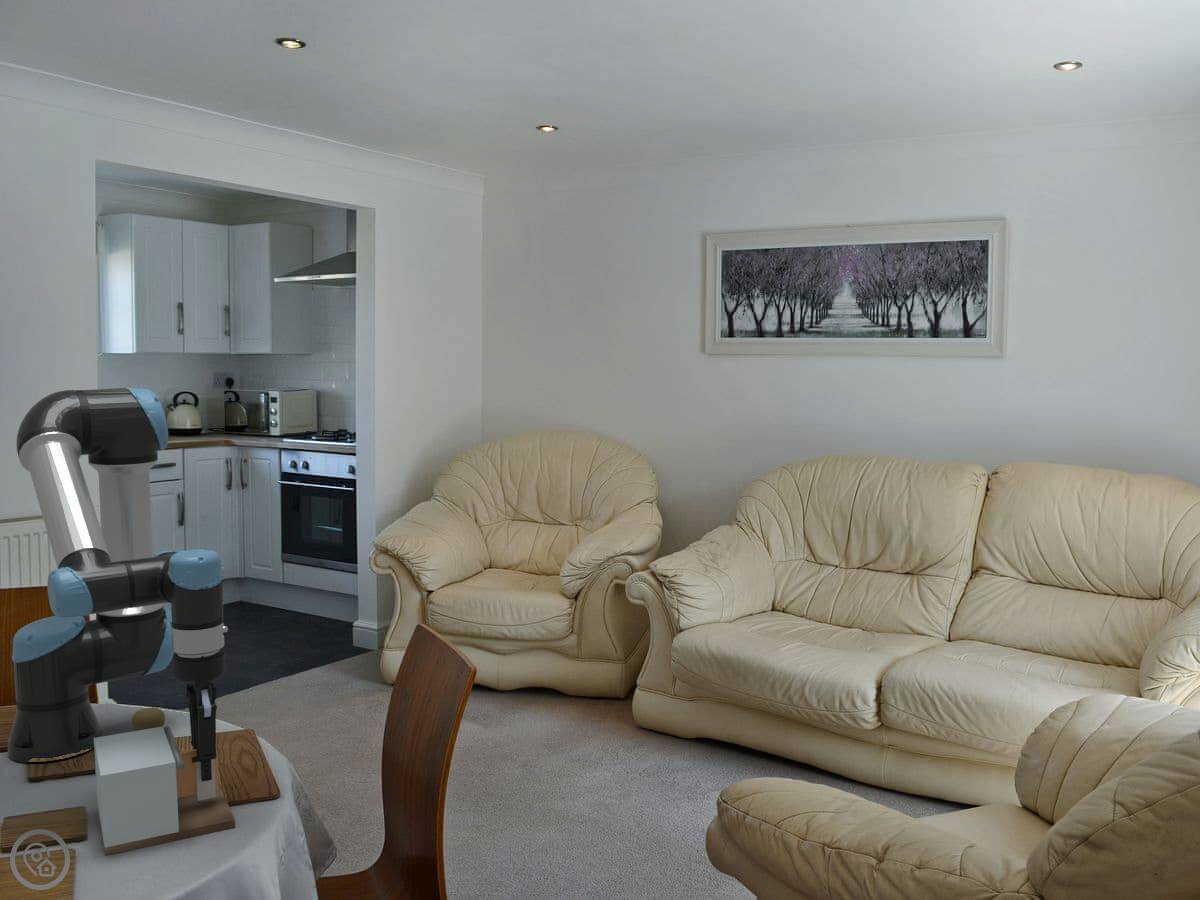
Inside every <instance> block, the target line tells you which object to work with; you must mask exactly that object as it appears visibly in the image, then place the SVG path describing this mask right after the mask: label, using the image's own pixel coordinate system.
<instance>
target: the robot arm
mask: <svg viewBox="0 0 1200 900" xmlns="http://www.w3.org/2000/svg"><path fill="white" fill-rule="evenodd" d="M162 405H163V404H162V403H161V401H160V399H159V397H158V396H157V394H156V393H155V392H153V391H152V390H151V389H147V388H135V387H119V388H118V387H116V388H97V389H96V388H95V389H80V390H79V389H77V390H76V389H66V390H60V391H56V392H53V393H51V394H48V395H46V396H45V397H43V398H41V399H40V400H39V401H37V402H36V403H35V404H34V405H33V406H32V407H31V408H30V409H29V410H28V411H27V413H26V414H25V416H24V417H23V418H22V420H21V423H20V425H19V428H18V431H17V435H16V452H17V455H18V460H19V463H20V465H21V466H22V467H23V468H24V469H25V470H26V471H28V472H29V473H30V476H31V481H32V484H33V487H34V490H35V491H34V492H35V494H36V499H37V501H38V504H39V509H40V513H41V515H42V518H43V522H44V526H45V530H46V533H47V536H48V540H49V543H50V547H51V550H52V554H53V556H54V557H53V558H54V561H55V564H56V567H57V569H56V568H55V569H53V570H51V571H50V572H49V573H48V576H47V582H46V583H47V586H46V587H47V596H48V603H49V607H50V609H51V612H52V613H53V615H52V616H49V617H48V616H47V617H45V618H41V619H37V620H35V621H33V622H31V623H28V624H26V625H24V626H23V627H21V628H19V629H18V630H17V632H16V633H15V634H14V636H13V639H12V656H11V659H12V663H13V672H14V687H15V689H14V690H15V691H14V692H15V703H16V704H15V705H16V708H15V709H16V712H15V715H14V719H13V723H12V725H11V729H10V732H9V736H8V740H7V756H8V758H10V759H11V760H12V761H15V762H19V763H26V764H28V763H27V762H28V761H29V760H30V759H32V758H53V757H59V756H62V755H67V754H71V753H77V752H80V751H81V750H86V749H90V748H94V738H97V737H103V736H102V728H101V725H100V722H99V721H98V718H97V716H96V713H95V711H94V708H93V707H92V704H91V702H90V698H89V686H91V685H96V684H102V683H108V682H113V681H118V680H122V679H128V678H134V677H144V676H146V675H149V674H153V673H158V672H161V671H163V670H165V669H166V668H167V667H168V666H169V665H170V663H171V662H172V661H173V675H174V678H176V679H177V680H178V681H180V682H187V683H186V686H185V695H186V697H187V701H188V702H187V704H188V708H187V709H188V712H189V725H190V726H189V727H190V744H191V746H192V750H193V749H196V753H197V756H196V757H192V763H194V762H195V767H196V790H197V794H195V795H196V797H197V801H200V800H205V799H210V798H215V797H216V789H215V766H214V759H216V756H217V754H216V745H217V731H216V730H217V728H216V727H217V726H216V725H217V724H216V722H217V721H216V720H217V717H216V716H217V709H218V706H217V703H216V699H217V688H216V687H215V686H214V682H211V681H213V680H214V679H217V678H219V677H221V676H223V675H224V674H225V672H226V670H227V669H226V667H227V664H226V651H225V650H224V648H223V647H225V635H224V633H227V632H228V630H229V628H228V626H227V625H225V624H224V622H225V621H224V620H225V619H224V595H223V594H224V593H223V577H224V571H223V568H222V560H221V559H222V558H221V555H220V554H219V553H218V552H217V551H215V550H212V549H203V548H202V549H200V548H198V549H187V550H181V551H175V550H162V551H160V552H158V553H156V554H154V553H153V528H152V507H151V504H152V503H151V501H152V500H151V481H150V480H151V479H150V470H151V469H152V468H153V467H154V466H155V465H156V463H158V461H159V459H158V458H159V456H158V452H161V451H163V450H165V449H167V448H168V447H167V446H168V445H169V444H168V439H169V430H168V423H167V418H166V414H165V410H164V409H163V406H162ZM86 455H87V457H88V466H91V467H92V468H93V469H94V470H95V471H97V474H98V490H99V491H98V493H99V494H98V495H99V511H100V512H99V513H100V514H99V515H100V523H99V519H98V516H97V513H96V510H95V507H94V504H93V501H92V498H91V495H90V492H89V488H88V485H87V482H86V478H85V475H84V472H83V469H82V466H81V464H80V458H81V456H86ZM167 603H169V604H170V610H169V609H168V608H165V607H164V604H167ZM94 614H95V619H92V620H87V621H86V619H85V617H87V616H90V615H94ZM174 653H175V654H174Z"/></svg>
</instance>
